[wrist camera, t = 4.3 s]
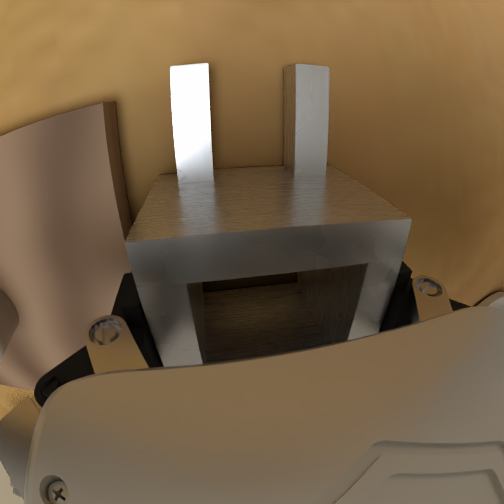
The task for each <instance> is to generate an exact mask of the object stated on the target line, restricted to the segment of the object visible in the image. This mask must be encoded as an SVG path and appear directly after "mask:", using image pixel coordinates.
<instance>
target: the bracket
mask: <svg viewBox="0 0 504 504" xmlns="http://www.w3.org/2000/svg"><path fill="white" fill-rule="evenodd" d="M170 80H171V101H172V118H173V132H174V144H175V156H176V167H177V173H175V174H166V175H159V176H158V178H157V179H156V181H155V183H154V185H153V187H152V189H151V190H150V192H149V194H148V196H147V198H146V200H145V202H144V204H143V206H142V208H141V210H140V212H139V214H138V216H137V218H136V220H135V222H134V224H133V226H132V228H131V230H130V232H129V234H128V236H127V238H126V240H125V247H126V251H127V255H128V259H129V262H130V266H131V270H132V273H133V277H134V280H135V284H136V287H137V291H138V294H139V297H140V300H141V304H142V307H143V310H144V313H145V316H146V319H147V322H148V325H149V328H150V330H151V333H152V336H153V339H154V342H155V344H156V347H157V350H158V352H159V355H160V358H161V360H162V363H163V365H164V367H168V366H182V365H193V364H204V363H214V362H223V361H232V360H240V359H247V358H254V357H261V356H268V355H274V354H280V353H286V352H292V351H298V350H303V349H308V348H313V347H319V346H323V345H328V344H333V343H338V342H342V341H347V340H351V339H355V338H359V337H364V336H368V335H372V334H376V333H378V332H379V329H380V327H381V324H382V321H383V319H384V316H385V313H386V310H387V307H388V304H389V301H390V298H391V295H392V292H393V289H394V286H395V283H396V280H397V276H398V273H399V270H400V266H401V263H402V259H403V255H404V252H405V248H406V244H407V240H408V236H409V232H410V227H411V223H412V218H410V217H409V216H408V215H406V214H405V213H403V212H402V211H401V210H399V209H398V208H396V207H395V206H394V205H392V204H391V203H389V202H388V201H386V200H385V199H384V198H382V197H381V196H379V195H378V194H376V193H375V192H373V191H372V190H370V189H369V188H367V187H365V186H364V185H362V184H361V183H359V182H358V181H356V180H355V179H353V178H351V177H350V176H348V175H347V174H345V173H343V172H342V171H340V170H338V169H337V168H335V167H333V166H332V165H326V164H327V146H328V122H329V67H326V66H317V65H307V64H293V65H290V66H287V67H284V154H283V166H266V167H246V168H230V169H216V170H213V162H212V144H211V123H210V99H209V68H208V63H202V64H190V65H180V66H172V67H170ZM291 272H298V276H297V282H294V283H286V284H277V285H269V286H260V287H251V288H242V289H233V290H223V291H213V292H203V287H202V282H207V281H217V280H227V279H237V278H246V277H256V276H265V275H274V274H283V273H291Z"/></svg>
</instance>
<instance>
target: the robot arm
mask: <svg viewBox="0 0 504 504" xmlns="http://www.w3.org/2000/svg"><path fill="white" fill-rule="evenodd" d="M411 273H412V270H411V269H410V268H409V267H408V266H407V265H406V264H405V263H404V262H403V261H402V263H401V266H400V270H399V273H398V276H397V280H396V283H395V286H394V289H393V292H392V295H391V298H390V301H389V304H388V307H387V310H386V313H385V316H384V319H383V321H382V324H381V327H380V329H379V332H378V333H376V334H372V335H368V336H364V337H359V338H355V339H351V340H347V341H342V342H338V343H333V344H328V345H323V346H319V347H313V348H308V349H303V350H298V351H292V352H286V353H280V354H274V355H268V356H261V357H254V358H247V359H240V360H232V361H223V362H214V363H204V364H193V365H182V366H168V367H164V365H163V363H162V360H161V358H160V355H159V352H158V350H157V347H156V344H155V342H154V339H153V336H152V333H151V330H150V328H149V325H148V322H147V319H146V316H145V313H144V310H143V307H142V304H141V300H140V297H139V294H138V291H137V287H136V284H135V280H134V277H133V273H132V270H131V273H125V274H124V275H123V278H122V281H121V284H120V287H119V290H118V293H117V296H116V299H115V302H114V306H113V309H112V312H111V315H105V316H102V317H99V318H97V319H95V320H94V321H93V322H91V323H90V324H89V325H88V327H87V328H86V330H85V333H84V340H85V343H86V345H85V346H84V347H83V348H81V349H80V350H78V351H77V352H75V353H74V354H73V355H71V356H70V357H68V358H67V359H66V360H64V361H63V362H61V363H60V364H58V365H57V366H56V367H54V368H53V369H51V370H50V371H49V372H47V373H46V374H44V375H43V376H42V377H41V378H40V379H39V380H38V382H37V384H36V386H35V389H34V397H33V398H30V397H29V396H28V397H26V398H25V399H24V400H23V401H22V402H21V403H19V404H18V405H17V406H16V407H15V408H14V409H12V410H11V411H10V412H9V413H8V414H7V415H6V416H4V417H3V418H2V419H1V420H0V461H1V463H2V465H3V466H4V468H5V470H6V472H7V473H8V475H9V477H10V479H11V480H12V482H13V484H14V485H15V487H16V489H17V490H18V492H19V493H20V495H21V496H22V498H23V499H24V504H504V292H497V293H494V294H492V295H491V296H489V297H487V298H486V299H485V300H483V301H482V302H481V303H479V304H478V305H477V306H475V307H470V306H468V305H465V304H462V303H459V302H457V301H454V300H451V299H449V298H448V295H447V292H446V289H445V288H444V286H443V285H442V284H441V283H440V282H439V281H438V280H436V279H434V278H432V277H428V276H417V277H415V278H414V279H412V278H411V277H410V276H411Z"/></svg>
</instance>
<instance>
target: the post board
mask: <svg viewBox="0 0 504 504" xmlns="http://www.w3.org/2000/svg"><path fill="white" fill-rule="evenodd" d="M132 226H133V224H132V219H131V214H130V209H129V203H128V198H127V192H126V186H125V180H124V174H123V167H122V160H121V152H120V144H119V136H118V126H117V115H116V103H115V102H107V103H100V104H96V105H92V106H88V107H84V108H80V109H77V110H73V111H70V112H66V113H63V114H59V115H56V116H53V117H50V118H47V119H44V120H41V121H38V122H35V123H33V124H30V125H27V126H25V127H22V128H19V129H17V130H14V131H12V132H9V133H7V134H5V135H2V136H0V384H2V385H6V386H11V387H17V388H22V389H28V390H34V389H35V386H36V384H37V382H38V380H39V379H40V378H41V377H42V376H43V375H44V374H46V373H47V372H49V371H50V370H51V369H53V368H54V367H56V366H57V365H58V364H60V363H61V362H63V361H64V360H66V359H67V358H68V357H70V356H71V355H73V354H74V353H75V352H77V351H78V350H80V349H81V348H83V347H84V346H85V345H86V343H85V340H84V333H85V330H86V328H87V327H88V325H89V324H90V323H91V322H93V321H94V320H95V319H97V318H99V317H102V316H105V315H111V312H112V309H113V306H114V302H115V299H116V296H117V293H118V290H119V287H120V284H121V281H122V278H123V275H124V274H125V273H131V266H130V262H129V259H128V255H127V251H126V247H125V240H126V238H127V236H128V234H129V232H130V230H131V228H132Z"/></svg>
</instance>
